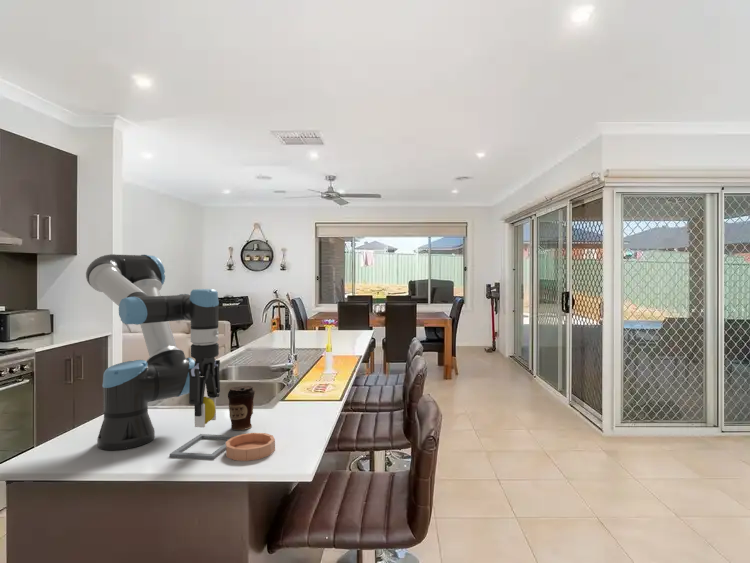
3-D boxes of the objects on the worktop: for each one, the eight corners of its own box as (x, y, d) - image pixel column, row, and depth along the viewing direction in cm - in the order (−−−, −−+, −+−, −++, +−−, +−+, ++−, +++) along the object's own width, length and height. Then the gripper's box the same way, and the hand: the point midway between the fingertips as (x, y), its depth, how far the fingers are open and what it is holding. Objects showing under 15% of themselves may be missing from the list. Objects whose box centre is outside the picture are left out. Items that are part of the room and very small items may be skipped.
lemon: (198, 421, 137) (198, 394, 137) (217, 420, 137) (217, 393, 137) (192, 427, 131) (192, 399, 131) (212, 427, 132) (212, 399, 131)
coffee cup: (247, 432, 146) (246, 391, 146) (222, 431, 148) (222, 390, 147) (259, 424, 154) (258, 385, 154) (236, 422, 156) (235, 384, 156)
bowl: (217, 459, 125) (217, 448, 125) (238, 442, 138) (238, 432, 138) (263, 461, 123) (263, 450, 123) (281, 444, 136) (280, 433, 136)
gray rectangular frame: (169, 456, 127) (169, 453, 127) (200, 436, 143) (200, 434, 143) (214, 459, 125) (214, 456, 125) (240, 438, 141) (240, 435, 141)
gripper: (200, 348, 124) (200, 435, 124) (231, 338, 142) (232, 413, 143) (174, 348, 125) (174, 433, 126) (208, 337, 143) (209, 412, 144)
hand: (205, 423), depth 134 cm, fingers closed on lemon, 5 cm apart
